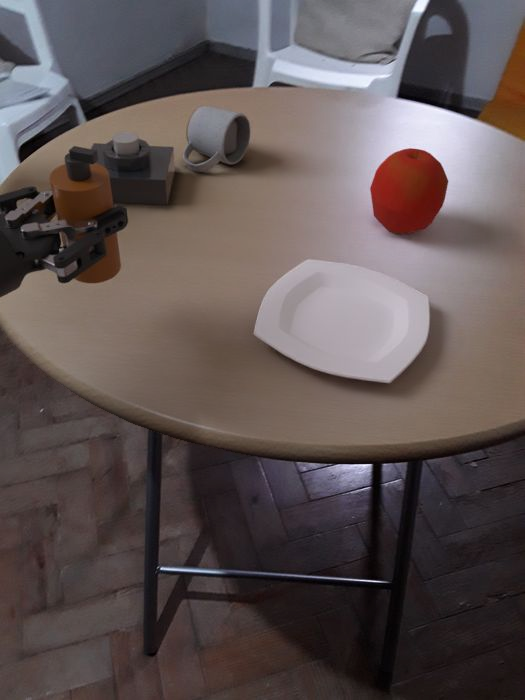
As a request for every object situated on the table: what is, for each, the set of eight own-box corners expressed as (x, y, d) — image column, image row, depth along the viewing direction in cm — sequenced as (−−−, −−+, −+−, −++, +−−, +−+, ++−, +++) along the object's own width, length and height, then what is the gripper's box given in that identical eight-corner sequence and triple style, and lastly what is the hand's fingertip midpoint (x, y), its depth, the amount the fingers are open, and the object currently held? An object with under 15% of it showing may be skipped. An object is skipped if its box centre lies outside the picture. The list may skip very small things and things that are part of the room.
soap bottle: (58, 276, 67) (32, 156, 57) (83, 247, 71) (62, 130, 61) (107, 288, 66) (88, 168, 56) (129, 258, 70) (115, 140, 60)
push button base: (83, 201, 90) (76, 162, 86) (97, 167, 97) (91, 130, 93) (167, 205, 90) (164, 166, 86) (174, 171, 97) (172, 134, 93)
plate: (231, 350, 69) (231, 337, 68) (298, 259, 82) (300, 247, 81) (398, 412, 64) (402, 399, 63) (442, 304, 77) (447, 292, 76)
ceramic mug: (210, 139, 105) (209, 94, 100) (251, 153, 102) (252, 107, 97) (171, 165, 99) (167, 118, 93) (213, 181, 96) (212, 133, 91)
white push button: (112, 155, 88) (110, 142, 87) (116, 144, 91) (114, 130, 90) (137, 157, 89) (136, 143, 87) (141, 145, 91) (140, 131, 90)
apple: (442, 247, 86) (465, 170, 78) (368, 243, 86) (384, 165, 78) (429, 207, 93) (449, 133, 85) (361, 204, 93) (375, 129, 85)
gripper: (-14, 274, 50) (149, 196, 59) (-103, 203, 56) (57, 143, 65) (8, 343, 55) (154, 261, 64) (-76, 270, 61) (69, 206, 71)
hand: (105, 202), depth 65 cm, fingers closed on soap bottle, 5 cm apart
